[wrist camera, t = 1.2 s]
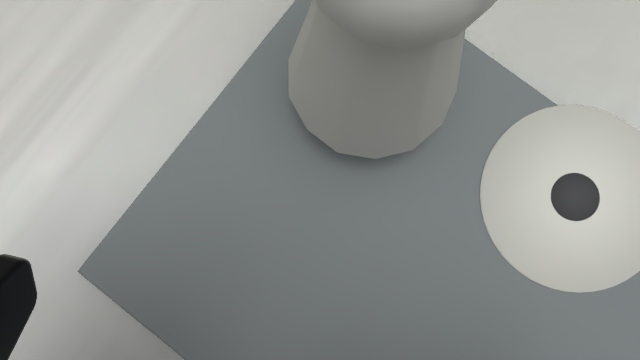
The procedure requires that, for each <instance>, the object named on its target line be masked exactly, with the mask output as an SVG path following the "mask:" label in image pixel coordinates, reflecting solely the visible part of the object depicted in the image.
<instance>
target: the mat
mask: <svg viewBox="0 0 640 360" xmlns="http://www.w3.org/2000/svg"><path fill="white" fill-rule="evenodd" d="M311 2H312V0H295V2H294V3H293V4H292V5H291V7H290V8H289V9H288V10H287V12H286V13H285V14H284V15H283V17H282V18H281V19H280V20H279V22H278V23H277V24H276V25H275V27H274V28H273V29H272V30H271V32H270V33H269V34H268V35H267V36H266V38H265V39H264V40H263V41H262V43H261V44H260V45H259V46H258V48H257V49H256V50H255V51H254V53H253V54H252V55H251V56H250V58H249V59H248V60H247V61H246V63H245V64H244V65H243V66H242V68H241V69H240V70H239V71H238V73H237V74H236V75H235V76H234V78H233V79H232V80H231V81H230V82H229V84H228V85H227V86H226V87H225V89H224V90H223V91H222V92H221V94H220V95H219V96H218V97H217V99H216V100H215V101H214V102H213V104H212V105H211V106H210V107H209V109H208V110H207V111H206V112H205V114H204V115H203V116H202V117H201V119H200V120H199V121H198V122H197V124H196V125H195V126H194V127H193V129H192V130H191V131H190V132H189V133H188V135H187V136H186V137H185V138H184V140H183V141H182V142H181V143H180V145H179V146H178V147H177V148H176V150H175V151H174V152H173V153H172V155H171V156H170V157H169V158H168V160H167V161H166V162H165V163H164V165H163V166H162V167H161V168H160V170H159V171H158V172H157V173H156V175H155V176H154V177H153V178H152V179H151V181H150V182H149V183H148V184H147V186H146V187H145V188H144V189H143V191H142V192H141V193H140V194H139V196H138V197H137V198H136V199H135V201H134V202H133V203H132V204H131V206H130V207H129V208H128V209H127V211H126V212H125V213H124V214H123V216H122V217H121V218H120V219H119V221H118V222H117V223H116V224H115V226H114V227H113V228H112V229H111V230H110V232H109V233H108V234H107V235H106V237H105V238H104V239H103V240H102V242H101V243H100V244H99V245H98V247H97V248H96V249H95V250H94V252H93V253H92V254H91V255H90V257H89V258H88V259H87V260H86V262H85V263H84V264H83V265H82V267H81V268H80V269H79V270H78V272H79V273H80V274H81V275H82V276H84V277H85V278H86V279H87V280H89V281H90V282H91V283H92V284H93V285H95V286H96V287H97V288H98V289H100V290H101V291H102V292H103V293H104V294H106V295H107V296H108V297H109V298H111V299H112V300H113V301H114V302H116V303H117V304H118V305H119V306H120V307H122V308H123V309H124V310H125V311H127V312H128V313H129V314H130V315H131V316H133V317H134V318H135V319H136V320H138V321H139V322H140V323H141V324H142V325H144V326H145V327H146V328H147V329H149V330H150V331H151V332H152V333H153V334H155V335H156V336H157V337H158V338H160V339H161V340H162V341H163V342H164V343H166V344H167V345H168V346H169V347H171V348H172V349H173V350H174V351H176V352H177V353H178V354H179V355H180V356H182V357H183V358H184V359H185V360H640V132H639V131H637V130H636V129H635V128H634V127H632V126H631V125H630V124H629V123H627V122H626V121H624V120H622V119H621V118H619V117H617V116H615V115H613V114H611V113H609V112H607V111H603V110H600V109H597V108H594V107H588V106H583V105H559V106H558V105H556V104H555V103H554V102H552V101H551V100H549V99H548V98H547V97H545V96H544V95H542V94H541V93H540V92H538V91H537V90H535V89H534V88H533V87H531V86H530V85H528V84H527V83H526V82H524V81H523V80H522V79H520V78H519V77H517V76H516V75H515V74H513V73H512V72H510V71H509V70H508V69H506V68H505V67H503V66H502V65H501V64H499V63H498V62H496V61H495V60H494V59H492V58H491V57H489V56H488V55H487V54H485V53H484V52H483V51H481V50H480V49H478V48H477V47H476V46H474V45H473V44H471V43H470V42H469V41H467V40H466V39H464V43H463V50H462V57H461V64H460V71H459V79H458V86H457V91H456V94H455V96H454V98H453V100H452V103H451V105H450V107H449V109H448V112H447V114H446V116H445V119H444V121H443V123H442V125H441V126H440V127H439V128H437V129H436V130H435V131H434V132H433V133H432V134H431V135H429V136H428V137H427V138H426V139H425V140H424V141H423V142H421V143H420V144H419V145H418V146H417V147H416V148H415V149H414V150H411V151H407V152H403V153H399V154H394V155H390V156H386V157H382V158H378V159H372V158H366V157H360V156H354V155H348V154H342V153H337V152H336V151H334V150H333V149H332V148H331V147H329V146H328V145H327V144H325V143H324V142H323V141H321V140H320V139H319V138H317V137H316V136H315V135H314V134H312V133H311V132H310V131H308V130H307V129H306V127H305V125H304V123H303V121H302V120H301V118H300V116H299V114H298V113H297V111H296V109H295V107H294V105H293V104H292V102H291V100H290V98H289V71H288V59H289V57H290V54H291V52H292V50H293V47H294V45H295V42H296V40H297V37H298V35H299V33H300V30H301V28H302V25H303V23H304V21H305V18H306V16H307V13H308V11H309V8H310V5H311Z"/></svg>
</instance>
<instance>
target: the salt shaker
mask: <svg viewBox="0 0 640 360" xmlns="http://www.w3.org/2000/svg"><path fill="white" fill-rule="evenodd" d="M496 1H497V0H312V2H311V5H310V8H309V11H308V13H307V16H306V18H305V21H304V23H303V25H302V28H301V30H300V33H299V35H298V37H297V40H296V42H295V45H294V47H293V50H292V52H291V54H290V57H289V59H288V71H289V98H290V100H291V102H292V104H293V105H294V107H295V109H296V111H297V113H298V114H299V116H300V118H301V120H302V121H303V123H304V125H305V127H306V129H307V130H308V131H310V132H311V133H312V134H314V135H315V136H316V137H317V138H319V139H320V140H321V141H323V142H324V143H325V144H327V145H328V146H329V147H331V148H332V149H333V150H334V151H336V152H337V153H342V154H348V155H354V156H360V157H366V158H372V159H378V158H382V157H386V156H390V155H394V154H399V153H403V152H407V151H411V150H414V149H415V148H416V147H417V146H418V145H419V144H420V143H421V142H423V141H424V140H425V139H426V138H427V137H428V136H429V135H431V134H432V133H433V132H434V131H435V130H436V129H437V128H439V127H440V126H441V125H442V123H443V121H444V119H445V116H446V114H447V112H448V109H449V107H450V105H451V103H452V100H453V98H454V96H455V94H456V91H457V86H458V79H459V71H460V64H461V57H462V50H463V43H464V36H465V29H466V28H467V27H468V26H470V25H471V24H472V23H473V22H474V21H475V20H476V19H478V18H479V17H480V16H481V15H482V14H483V13H485V12H486V11H487V10H488V9H489V8H490V7H491V6H492V5H493V4H494V3H495V2H496Z"/></svg>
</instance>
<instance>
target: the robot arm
mask: <svg viewBox="0 0 640 360" xmlns="http://www.w3.org/2000/svg"><path fill="white" fill-rule="evenodd" d="M36 299H37V290H36V286H35V281H34V277H33V272H32V268H31V264H30V263H29V261H28V260H26V259H23V258H19V257H15V256H11V255H6V254H3V255H0V360H8V358H9V356H10V354H11V352H12V351H13V349H14V347H15V345H16V343H17V341H18V339H19V337H20V335H21V333H22V331H23V329H24V327H25V325H26V323H27V321H28V319H29V317H30V315H31V313H32V311H33V309H34V306H35V303H36Z"/></svg>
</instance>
